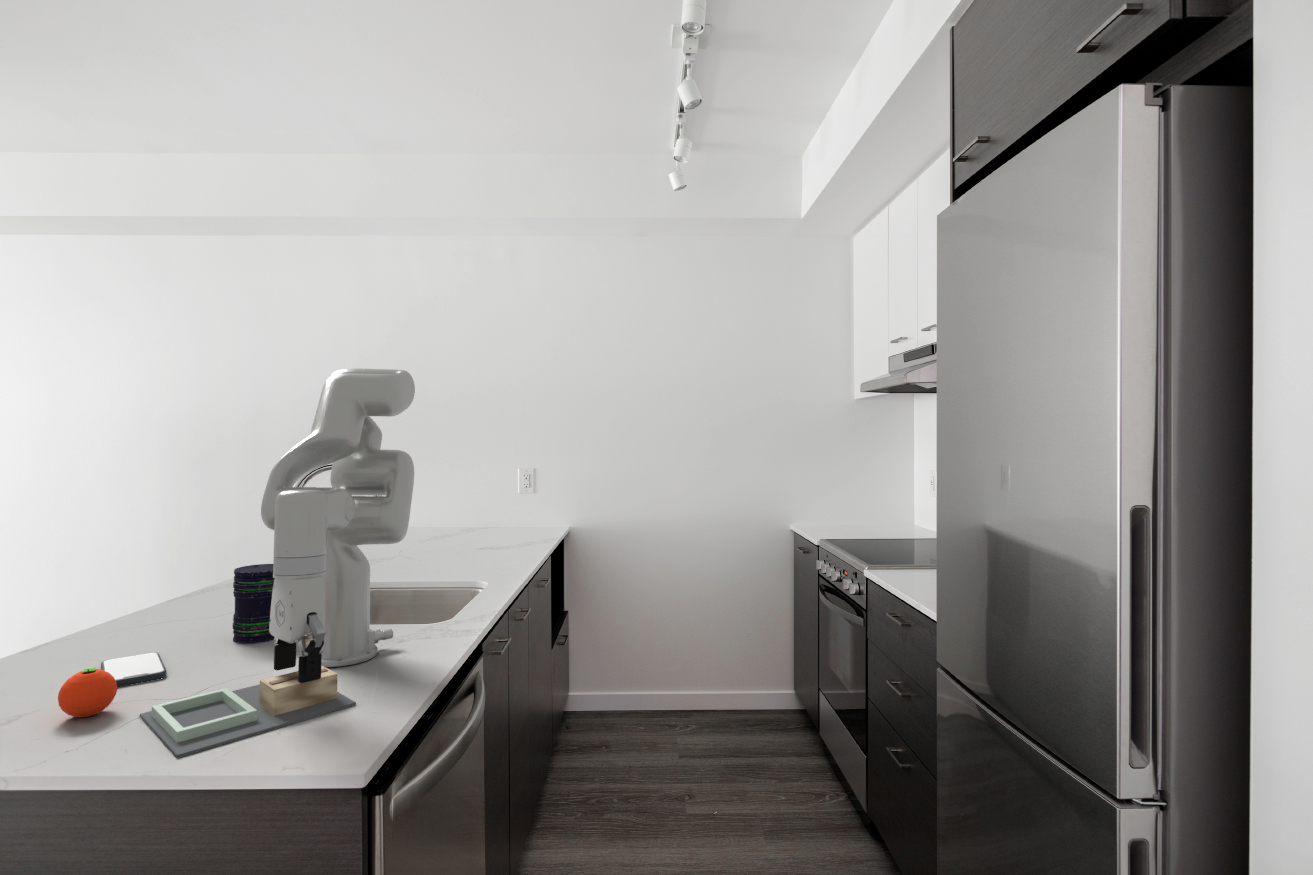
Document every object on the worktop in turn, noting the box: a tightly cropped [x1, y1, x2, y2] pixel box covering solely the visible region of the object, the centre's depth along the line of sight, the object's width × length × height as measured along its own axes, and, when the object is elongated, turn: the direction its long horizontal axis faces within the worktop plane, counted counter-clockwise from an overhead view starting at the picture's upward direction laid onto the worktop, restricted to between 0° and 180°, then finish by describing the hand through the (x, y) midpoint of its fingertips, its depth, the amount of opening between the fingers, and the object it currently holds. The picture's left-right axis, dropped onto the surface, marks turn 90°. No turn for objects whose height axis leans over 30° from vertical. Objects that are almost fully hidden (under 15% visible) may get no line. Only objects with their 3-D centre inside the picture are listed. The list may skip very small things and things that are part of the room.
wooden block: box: [259, 665, 338, 716], centre depth 106 cm, size 10×6×4 cm, turn 139°
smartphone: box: [100, 652, 167, 688], centre depth 120 cm, size 9×2×16 cm
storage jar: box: [232, 563, 275, 645], centre depth 142 cm, size 10×10×15 cm
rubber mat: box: [139, 683, 357, 759], centre depth 103 cm, size 24×20×1 cm
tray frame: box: [151, 687, 257, 743], centre depth 99 cm, size 10×14×2 cm
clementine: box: [57, 667, 118, 718], centre depth 101 cm, size 8×7×7 cm
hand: (296, 674), depth 105 cm, fingers open, 9 cm apart
